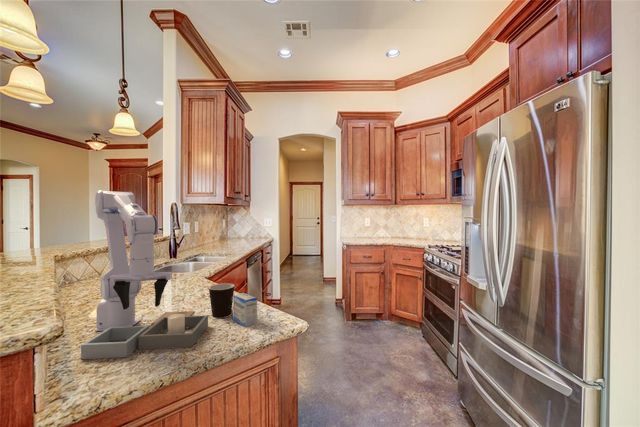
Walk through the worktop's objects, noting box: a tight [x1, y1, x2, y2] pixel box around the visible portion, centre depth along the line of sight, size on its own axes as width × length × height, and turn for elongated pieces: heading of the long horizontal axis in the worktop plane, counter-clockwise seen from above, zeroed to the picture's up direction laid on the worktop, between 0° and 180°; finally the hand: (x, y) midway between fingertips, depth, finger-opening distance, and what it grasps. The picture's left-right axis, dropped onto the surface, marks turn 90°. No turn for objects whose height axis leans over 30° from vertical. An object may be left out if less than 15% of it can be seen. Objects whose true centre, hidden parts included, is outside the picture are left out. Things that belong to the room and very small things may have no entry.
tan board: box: [150, 310, 195, 326], centre depth 93 cm, size 10×10×1 cm
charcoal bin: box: [137, 314, 209, 351], centre depth 79 cm, size 14×14×4 cm
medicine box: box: [232, 292, 258, 328], centre depth 89 cm, size 8×4×9 cm, turn 47°
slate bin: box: [80, 325, 150, 360], centre depth 73 cm, size 11×11×4 cm
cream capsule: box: [167, 314, 186, 334], centre depth 79 cm, size 4×4×6 cm
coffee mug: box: [208, 282, 235, 319], centre depth 98 cm, size 12×9×10 cm
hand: (142, 306), depth 75 cm, fingers open, 7 cm apart
